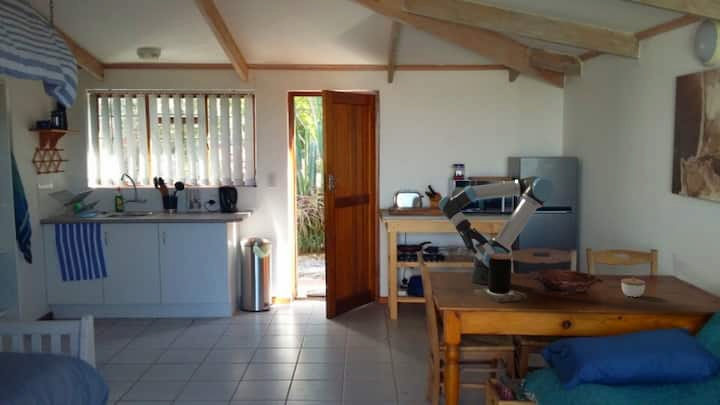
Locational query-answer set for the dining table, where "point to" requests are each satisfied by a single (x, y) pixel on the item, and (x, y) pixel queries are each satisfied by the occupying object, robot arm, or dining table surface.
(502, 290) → the coffee jar
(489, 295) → the walnut board
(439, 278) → the dining table surface
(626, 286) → the lidded jar
